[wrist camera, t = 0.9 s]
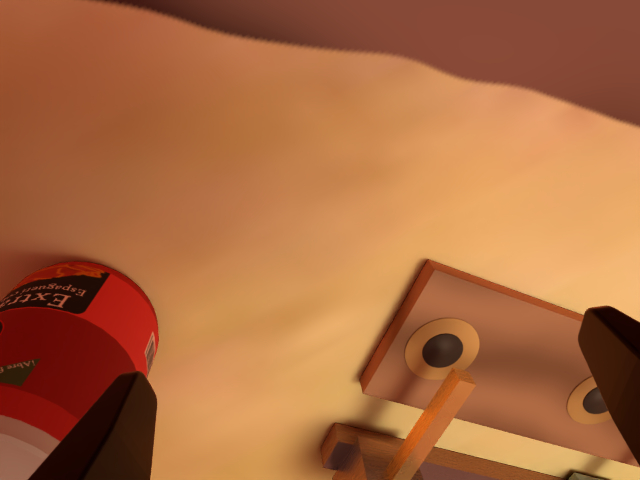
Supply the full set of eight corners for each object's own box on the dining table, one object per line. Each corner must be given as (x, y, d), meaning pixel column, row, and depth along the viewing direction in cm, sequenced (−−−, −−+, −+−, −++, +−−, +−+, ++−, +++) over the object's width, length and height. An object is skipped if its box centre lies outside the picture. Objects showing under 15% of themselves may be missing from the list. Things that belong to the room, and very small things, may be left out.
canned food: (103, 231, 23) (-27, 387, 13) (191, 343, 26) (141, 536, 16) (-22, 295, 24) (-233, 487, 14) (79, 396, 27) (-33, 610, 17)
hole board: (673, 465, 35) (688, 482, 34) (359, 379, 28) (363, 395, 27) (759, 379, 32) (779, 393, 31) (428, 259, 25) (436, 271, 24)
